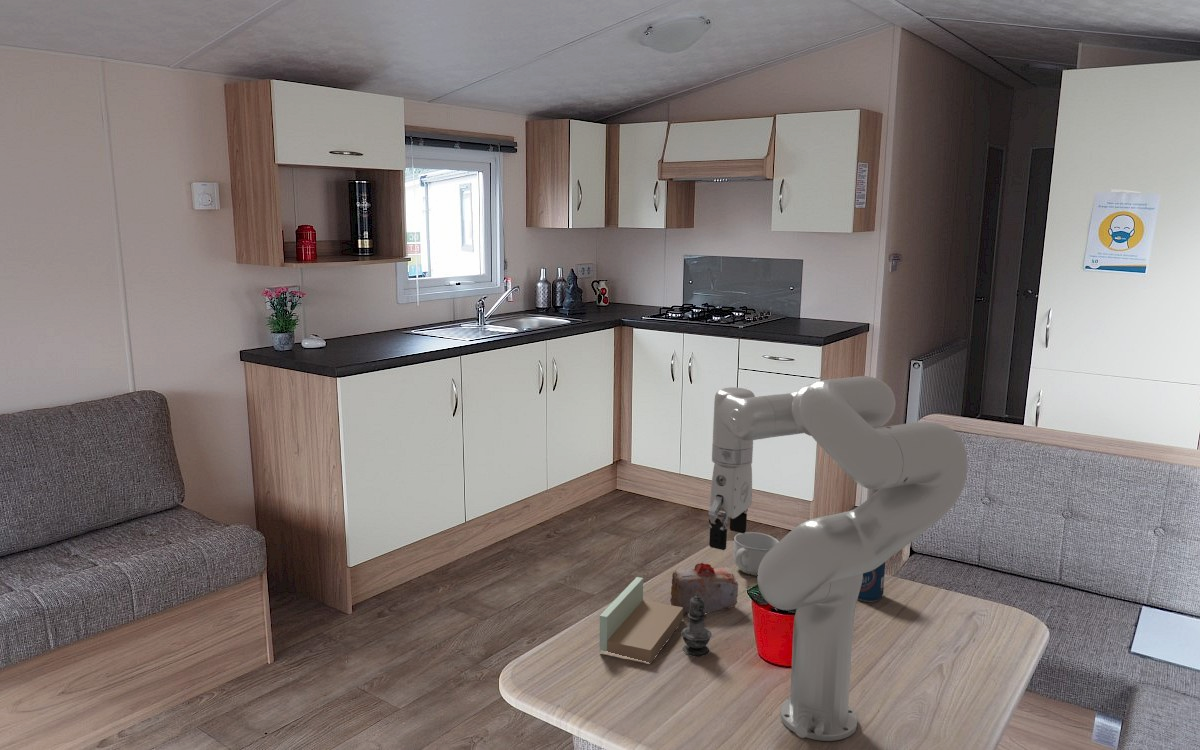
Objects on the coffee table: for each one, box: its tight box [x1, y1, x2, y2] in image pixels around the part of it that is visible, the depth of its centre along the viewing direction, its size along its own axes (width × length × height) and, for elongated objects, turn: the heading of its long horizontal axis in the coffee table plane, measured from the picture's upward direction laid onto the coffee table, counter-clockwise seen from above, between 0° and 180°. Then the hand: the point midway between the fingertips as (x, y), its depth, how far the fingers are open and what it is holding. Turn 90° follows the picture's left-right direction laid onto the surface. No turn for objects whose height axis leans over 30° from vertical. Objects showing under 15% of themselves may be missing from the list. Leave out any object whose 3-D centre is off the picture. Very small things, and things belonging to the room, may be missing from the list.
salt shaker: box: [680, 593, 712, 658], centre depth 167 cm, size 6×6×12 cm
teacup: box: [733, 531, 780, 576], centre depth 205 cm, size 14×11×8 cm
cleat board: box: [599, 576, 684, 663], centre depth 173 cm, size 20×10×8 cm, turn 157°
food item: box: [669, 562, 739, 614], centre depth 187 cm, size 14×8×10 cm, turn 102°
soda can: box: [857, 561, 886, 603], centre depth 192 cm, size 7×7×12 cm
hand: (727, 539), depth 164 cm, fingers open, 9 cm apart
